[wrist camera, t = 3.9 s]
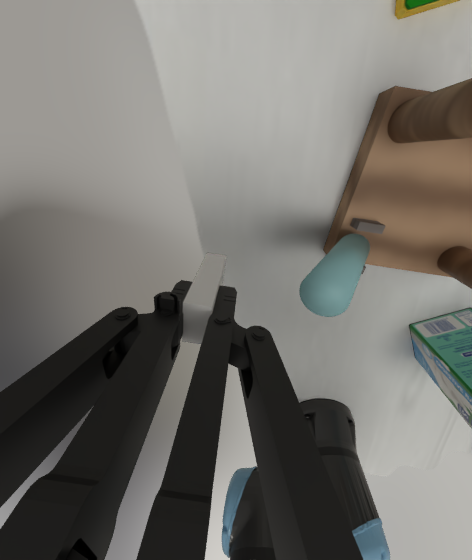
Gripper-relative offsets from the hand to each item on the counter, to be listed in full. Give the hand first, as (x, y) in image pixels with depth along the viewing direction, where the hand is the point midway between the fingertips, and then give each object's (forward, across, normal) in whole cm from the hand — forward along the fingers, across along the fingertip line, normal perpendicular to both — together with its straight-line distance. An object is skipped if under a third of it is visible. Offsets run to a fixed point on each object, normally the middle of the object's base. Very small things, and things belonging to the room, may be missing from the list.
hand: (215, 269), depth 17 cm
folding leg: (+11, -15, 0) cm, 19 cm away
